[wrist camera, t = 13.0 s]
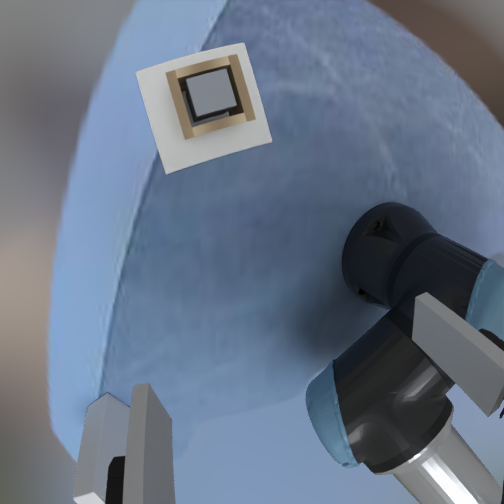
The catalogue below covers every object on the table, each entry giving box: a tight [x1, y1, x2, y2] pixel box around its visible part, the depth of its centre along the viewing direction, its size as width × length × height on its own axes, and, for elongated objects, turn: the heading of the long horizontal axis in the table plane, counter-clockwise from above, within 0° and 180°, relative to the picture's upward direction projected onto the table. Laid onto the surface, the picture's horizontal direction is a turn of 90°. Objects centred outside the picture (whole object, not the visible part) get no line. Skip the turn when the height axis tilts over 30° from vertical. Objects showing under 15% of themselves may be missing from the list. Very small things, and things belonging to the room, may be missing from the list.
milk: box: [73, 393, 131, 504], centre depth 33 cm, size 6×6×22 cm
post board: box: [136, 43, 272, 174], centre depth 26 cm, size 12×12×10 cm
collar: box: [166, 54, 256, 140], centre depth 26 cm, size 6×6×8 cm
